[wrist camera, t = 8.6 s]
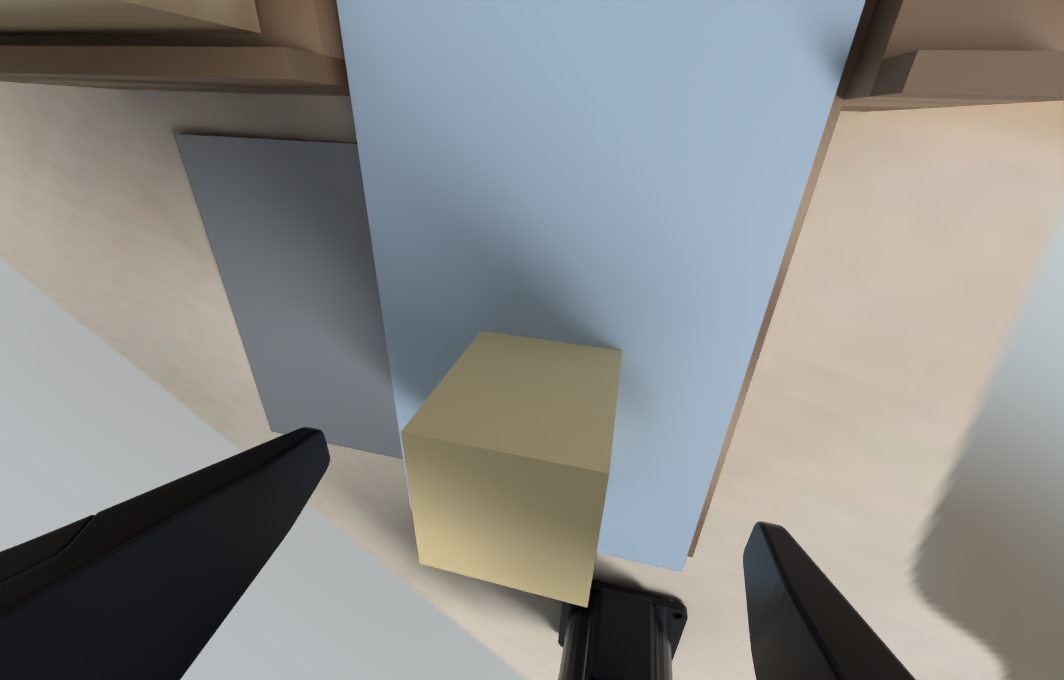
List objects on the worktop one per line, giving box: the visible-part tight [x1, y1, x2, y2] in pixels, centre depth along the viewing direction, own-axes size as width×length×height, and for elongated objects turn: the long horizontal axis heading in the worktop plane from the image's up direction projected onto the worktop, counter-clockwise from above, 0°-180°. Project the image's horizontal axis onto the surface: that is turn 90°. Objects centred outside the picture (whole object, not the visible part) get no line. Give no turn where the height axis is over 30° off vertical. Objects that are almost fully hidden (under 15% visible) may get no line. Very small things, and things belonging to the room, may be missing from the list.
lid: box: [337, 0, 866, 607], centre depth 9 cm, size 15×9×5 cm, turn 178°
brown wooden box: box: [0, 0, 1064, 557], centre depth 13 cm, size 17×26×7 cm, turn 88°
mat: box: [174, 134, 403, 459], centre depth 19 cm, size 15×10×1 cm, turn 178°
